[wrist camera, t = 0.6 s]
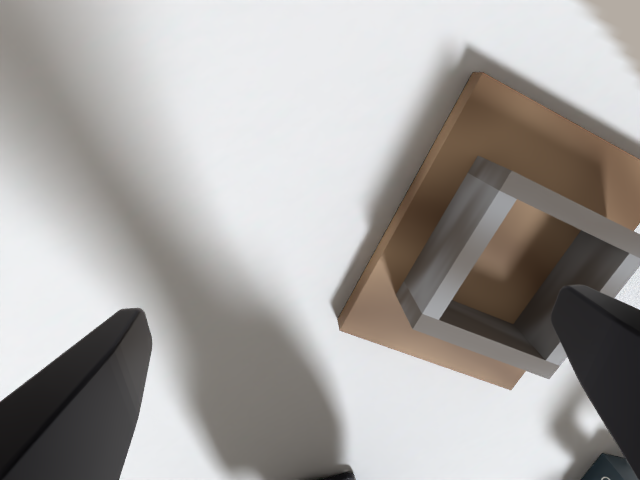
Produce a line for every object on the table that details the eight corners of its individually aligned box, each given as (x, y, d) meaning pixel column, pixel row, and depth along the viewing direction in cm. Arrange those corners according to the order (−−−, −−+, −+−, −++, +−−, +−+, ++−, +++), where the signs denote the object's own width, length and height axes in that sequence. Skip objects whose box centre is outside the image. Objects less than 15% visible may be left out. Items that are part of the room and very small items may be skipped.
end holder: (502, 378, 29) (540, 432, 25) (337, 319, 26) (347, 369, 22) (655, 173, 24) (737, 196, 20) (472, 72, 21) (521, 73, 17)
